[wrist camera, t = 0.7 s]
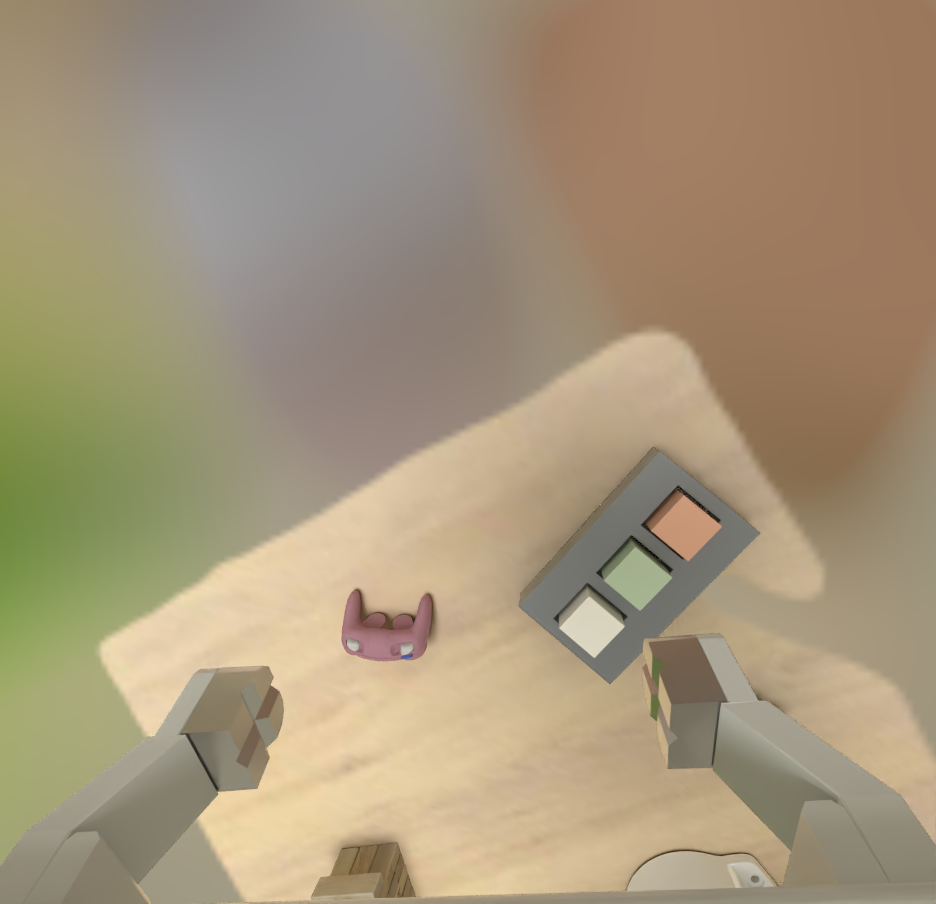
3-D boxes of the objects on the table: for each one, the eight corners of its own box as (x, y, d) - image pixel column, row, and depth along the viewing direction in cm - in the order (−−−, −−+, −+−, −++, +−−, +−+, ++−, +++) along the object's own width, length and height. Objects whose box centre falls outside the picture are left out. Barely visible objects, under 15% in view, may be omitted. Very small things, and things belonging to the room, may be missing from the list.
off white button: (619, 609, 53) (625, 626, 50) (591, 638, 54) (594, 658, 50) (586, 581, 54) (589, 596, 50) (558, 611, 54) (559, 628, 51)
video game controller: (356, 612, 62) (336, 664, 56) (349, 586, 59) (327, 637, 54) (438, 618, 60) (425, 672, 54) (433, 590, 58) (420, 644, 52)
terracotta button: (709, 516, 51) (722, 526, 47) (678, 548, 52) (688, 561, 48) (674, 487, 51) (684, 495, 47) (643, 520, 52) (650, 530, 48)
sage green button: (663, 563, 52) (672, 577, 48) (633, 594, 53) (640, 611, 49) (629, 535, 52) (635, 546, 49) (600, 566, 53) (603, 580, 49)
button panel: (746, 523, 52) (760, 532, 49) (606, 666, 56) (609, 684, 53) (653, 447, 53) (660, 450, 49) (520, 593, 57) (518, 606, 53)
